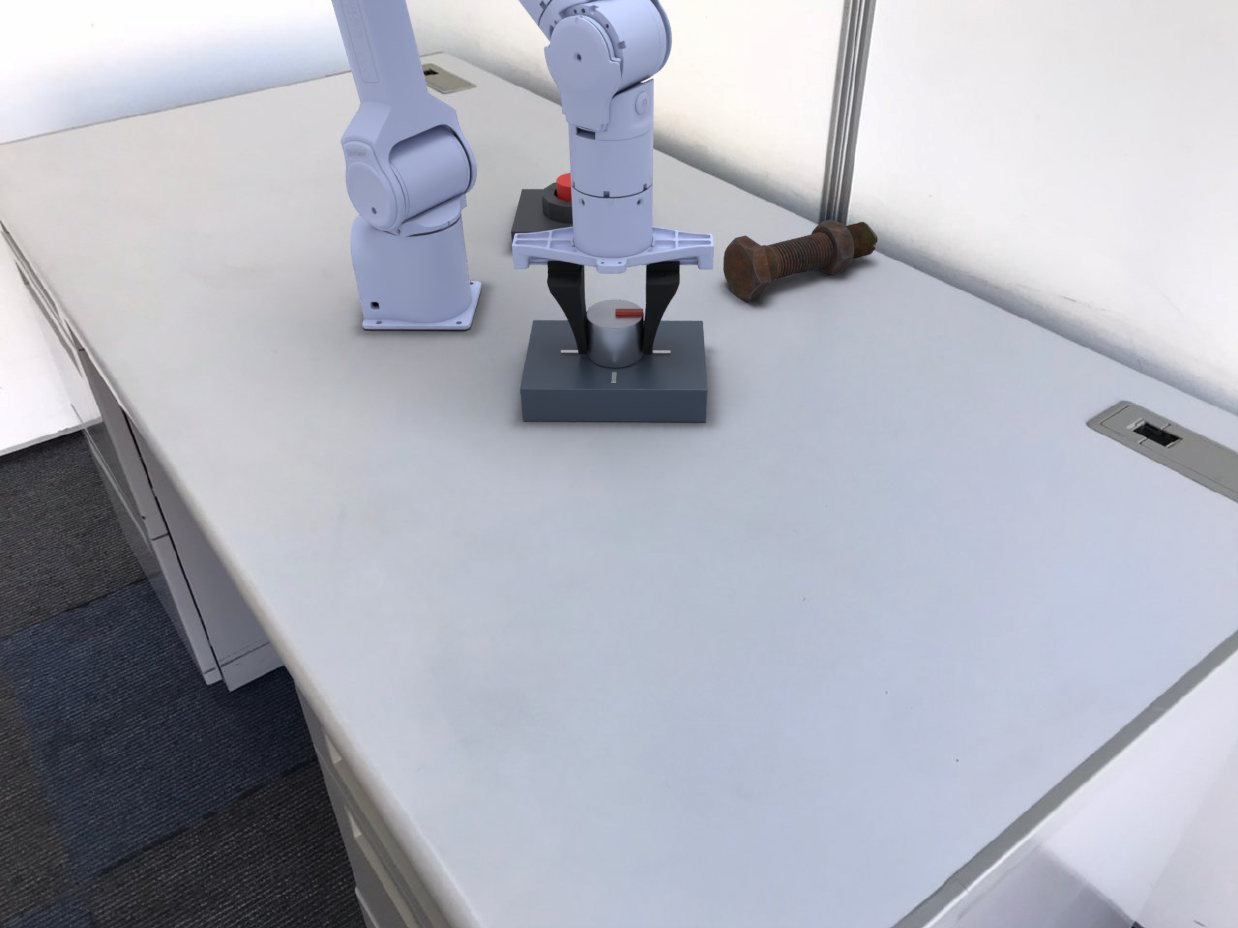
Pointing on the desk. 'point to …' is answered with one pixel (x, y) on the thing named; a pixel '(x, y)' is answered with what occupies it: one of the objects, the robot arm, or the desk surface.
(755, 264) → the bolt
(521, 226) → the button base
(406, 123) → the robot arm
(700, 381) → the valve panel
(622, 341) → the rotary knob
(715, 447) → the desk surface
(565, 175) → the button
